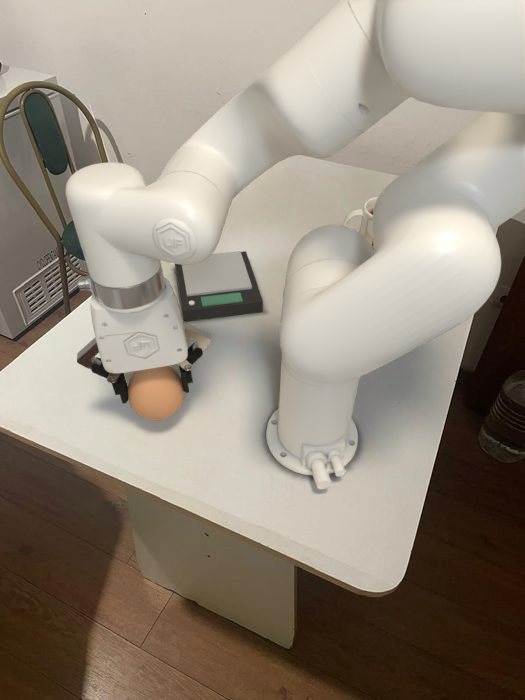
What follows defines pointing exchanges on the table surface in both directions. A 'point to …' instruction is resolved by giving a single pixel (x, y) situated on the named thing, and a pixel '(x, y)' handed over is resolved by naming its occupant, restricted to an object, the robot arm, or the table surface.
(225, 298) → the scale
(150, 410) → the egg
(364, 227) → the mug
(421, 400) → the table surface
